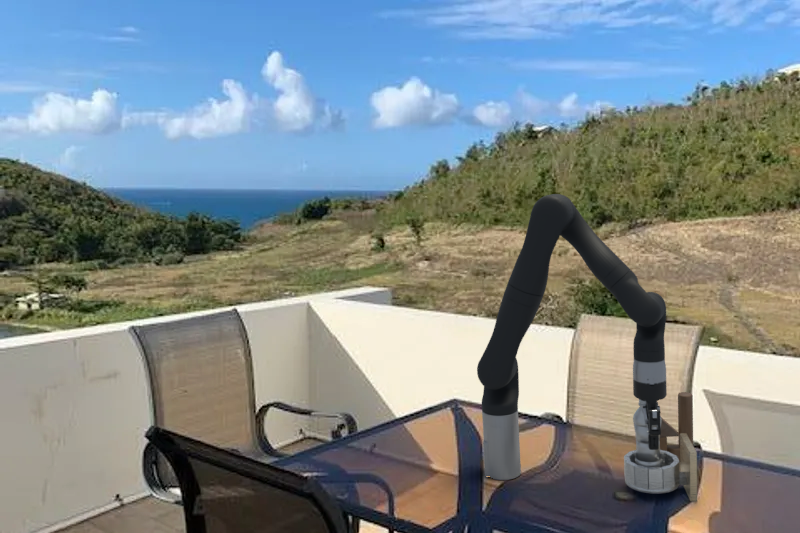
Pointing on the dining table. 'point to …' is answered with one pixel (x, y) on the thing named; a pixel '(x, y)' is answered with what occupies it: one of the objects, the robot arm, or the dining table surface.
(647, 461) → the plastic bottle
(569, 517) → the dining table surface
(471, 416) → the dining table surface
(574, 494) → the dining table surface
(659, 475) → the ring
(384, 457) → the dining table surface
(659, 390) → the robot arm
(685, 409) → the wooden wedge with rod
